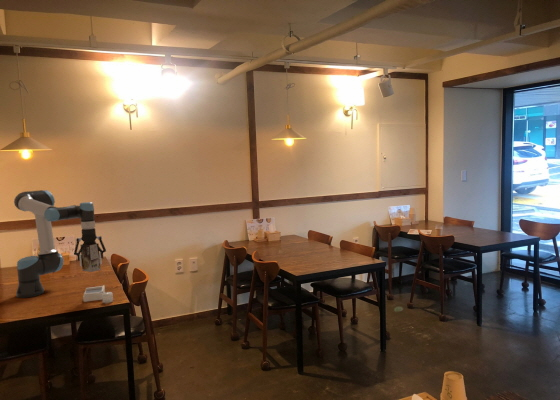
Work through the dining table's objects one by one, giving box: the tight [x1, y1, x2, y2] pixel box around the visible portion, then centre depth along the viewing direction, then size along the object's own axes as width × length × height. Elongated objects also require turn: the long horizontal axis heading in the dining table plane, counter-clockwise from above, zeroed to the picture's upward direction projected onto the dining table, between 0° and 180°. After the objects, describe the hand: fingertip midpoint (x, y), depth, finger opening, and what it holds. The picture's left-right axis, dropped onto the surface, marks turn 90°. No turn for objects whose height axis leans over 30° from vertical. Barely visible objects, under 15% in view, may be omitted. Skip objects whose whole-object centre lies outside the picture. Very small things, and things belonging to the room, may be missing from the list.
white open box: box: [82, 284, 106, 303], centre depth 260 cm, size 11×14×5 cm
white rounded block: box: [101, 291, 114, 304], centre depth 251 cm, size 6×6×5 cm
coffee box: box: [79, 242, 101, 273], centre depth 258 cm, size 9×6×16 cm
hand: (91, 264), depth 258 cm, fingers closed on coffee box, 10 cm apart
